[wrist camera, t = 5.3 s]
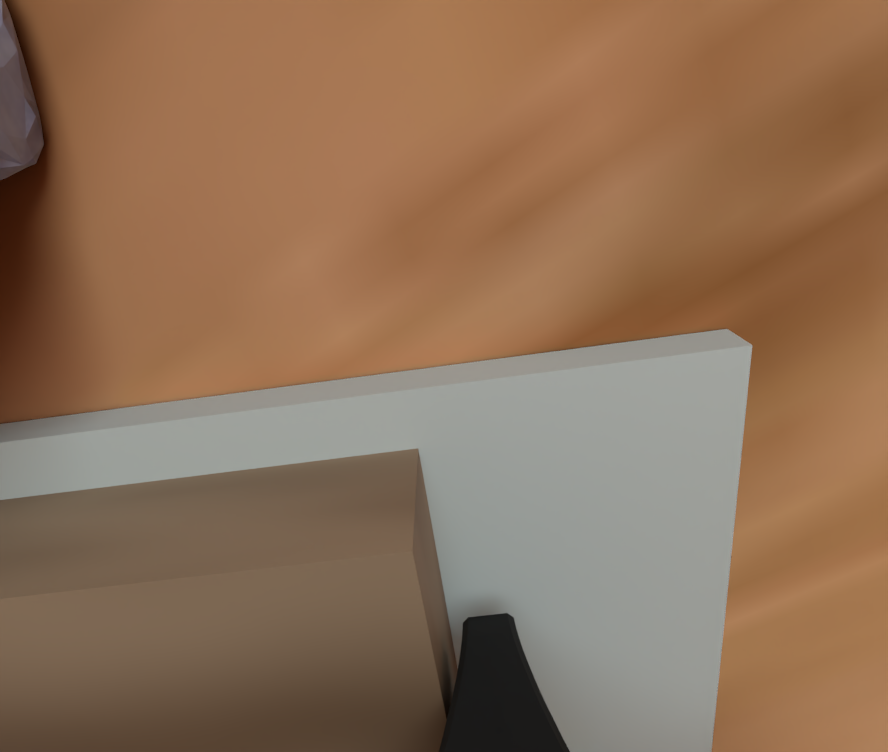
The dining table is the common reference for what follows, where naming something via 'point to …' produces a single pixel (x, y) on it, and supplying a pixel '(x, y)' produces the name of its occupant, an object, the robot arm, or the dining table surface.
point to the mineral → (16, 105)
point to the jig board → (507, 503)
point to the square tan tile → (227, 614)
